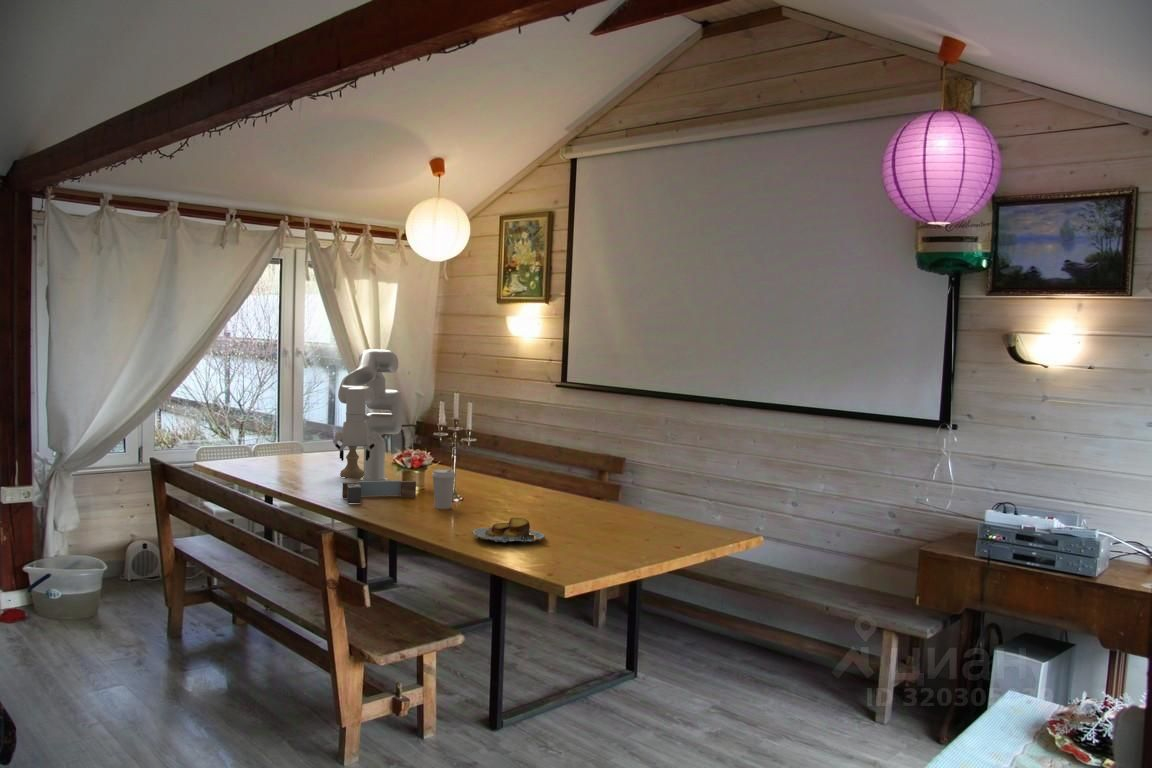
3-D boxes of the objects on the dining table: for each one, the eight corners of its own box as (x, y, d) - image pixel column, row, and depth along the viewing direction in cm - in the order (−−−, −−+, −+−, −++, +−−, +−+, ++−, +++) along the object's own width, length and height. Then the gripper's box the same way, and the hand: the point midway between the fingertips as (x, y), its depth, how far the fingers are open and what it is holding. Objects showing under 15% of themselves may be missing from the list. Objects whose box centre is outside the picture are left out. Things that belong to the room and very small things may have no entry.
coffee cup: (443, 511, 342) (444, 473, 341) (425, 507, 348) (426, 470, 346) (459, 507, 350) (460, 470, 349) (442, 503, 355) (443, 467, 354)
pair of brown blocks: (342, 497, 360) (342, 482, 359) (414, 496, 369) (415, 481, 369) (342, 498, 358) (342, 483, 357) (415, 497, 367) (416, 481, 367)
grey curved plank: (357, 495, 364) (357, 481, 364) (400, 494, 370) (401, 480, 369) (357, 496, 362) (358, 481, 362) (401, 495, 368) (401, 481, 367)
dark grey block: (346, 501, 354) (347, 484, 354) (359, 500, 356) (359, 484, 355) (347, 504, 347) (348, 487, 347) (360, 504, 349) (361, 487, 348)
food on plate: (458, 536, 304) (459, 518, 304) (517, 528, 320) (518, 511, 319) (498, 552, 284) (499, 533, 284) (558, 543, 300) (559, 524, 299)
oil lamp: (337, 473, 414) (338, 390, 412) (369, 473, 417) (371, 391, 414) (334, 479, 400) (335, 393, 397) (367, 479, 402) (369, 393, 400)
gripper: (376, 417, 355) (375, 458, 356) (332, 417, 350) (332, 459, 351) (378, 419, 348) (377, 461, 349) (333, 419, 343) (332, 461, 344)
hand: (354, 460), depth 350 cm, fingers open, 9 cm apart
